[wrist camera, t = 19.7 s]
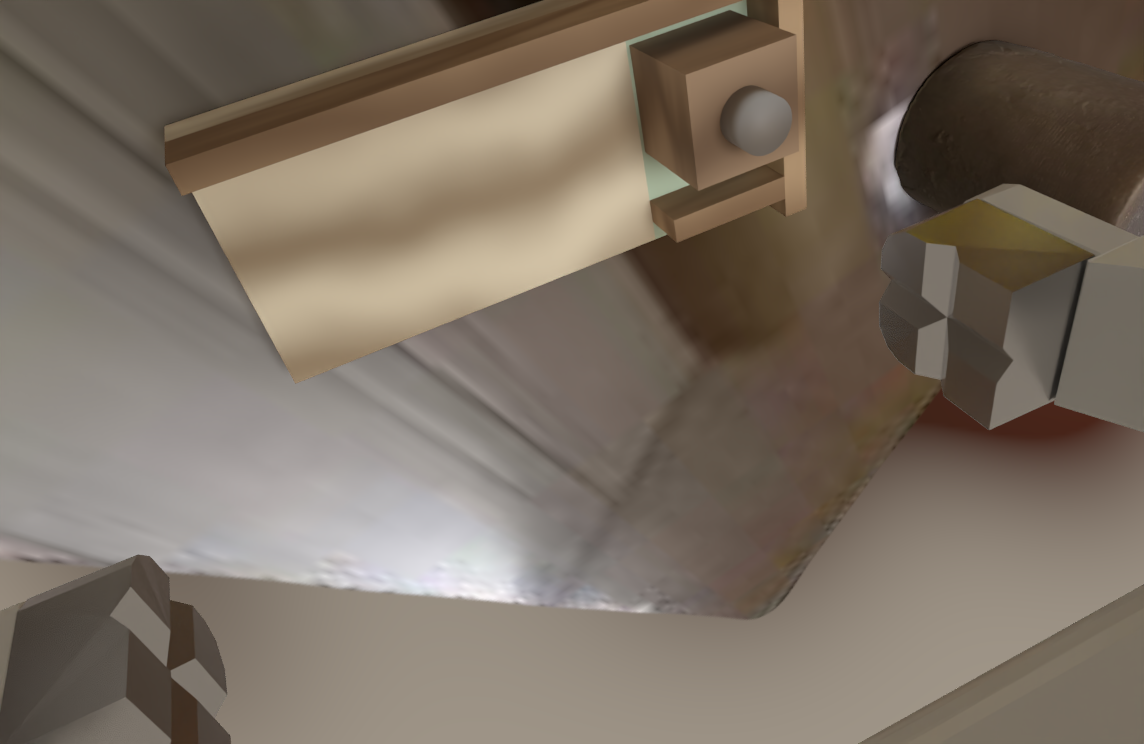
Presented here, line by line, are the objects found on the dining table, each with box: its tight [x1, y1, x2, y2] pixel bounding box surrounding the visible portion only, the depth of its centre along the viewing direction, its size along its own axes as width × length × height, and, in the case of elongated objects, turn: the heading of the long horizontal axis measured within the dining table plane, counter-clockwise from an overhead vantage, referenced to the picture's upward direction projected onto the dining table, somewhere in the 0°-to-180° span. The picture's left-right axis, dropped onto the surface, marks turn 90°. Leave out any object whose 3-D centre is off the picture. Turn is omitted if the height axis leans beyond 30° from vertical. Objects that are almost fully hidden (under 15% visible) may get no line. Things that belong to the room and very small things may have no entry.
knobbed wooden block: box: [629, 10, 799, 191], centre depth 35 cm, size 5×5×6 cm
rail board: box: [164, 0, 807, 384], centre depth 36 cm, size 12×26×4 cm, turn 103°
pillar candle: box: [895, 40, 1144, 237], centre depth 43 cm, size 10×10×15 cm
